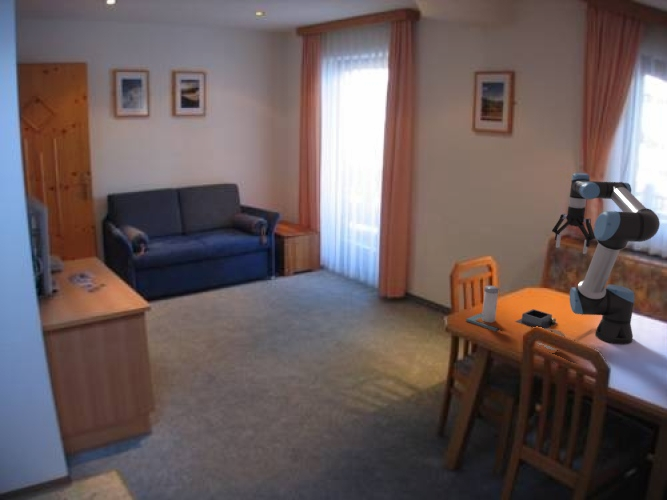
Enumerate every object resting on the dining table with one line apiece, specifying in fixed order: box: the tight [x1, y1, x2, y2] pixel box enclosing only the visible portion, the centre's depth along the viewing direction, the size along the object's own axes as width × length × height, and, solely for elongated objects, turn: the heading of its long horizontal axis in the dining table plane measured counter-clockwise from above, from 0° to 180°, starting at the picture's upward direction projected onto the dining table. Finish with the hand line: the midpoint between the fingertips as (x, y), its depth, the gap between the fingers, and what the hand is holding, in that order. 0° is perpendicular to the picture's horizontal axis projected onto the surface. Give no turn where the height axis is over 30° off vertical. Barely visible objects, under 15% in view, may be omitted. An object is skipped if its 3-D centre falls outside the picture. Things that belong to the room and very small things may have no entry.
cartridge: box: [481, 285, 500, 323], centre depth 292 cm, size 6×6×16 cm
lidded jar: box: [537, 328, 566, 350], centre depth 265 cm, size 11×11×9 cm
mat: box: [465, 312, 501, 332], centre depth 295 cm, size 16×12×1 cm
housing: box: [514, 309, 558, 329], centre depth 293 cm, size 14×14×6 cm
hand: (571, 250), depth 303 cm, fingers open, 13 cm apart
